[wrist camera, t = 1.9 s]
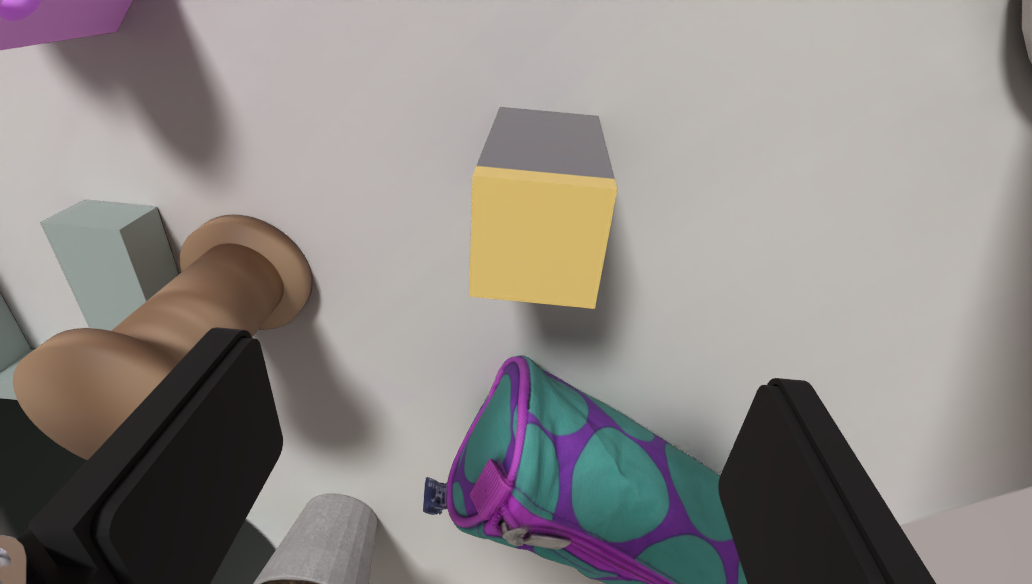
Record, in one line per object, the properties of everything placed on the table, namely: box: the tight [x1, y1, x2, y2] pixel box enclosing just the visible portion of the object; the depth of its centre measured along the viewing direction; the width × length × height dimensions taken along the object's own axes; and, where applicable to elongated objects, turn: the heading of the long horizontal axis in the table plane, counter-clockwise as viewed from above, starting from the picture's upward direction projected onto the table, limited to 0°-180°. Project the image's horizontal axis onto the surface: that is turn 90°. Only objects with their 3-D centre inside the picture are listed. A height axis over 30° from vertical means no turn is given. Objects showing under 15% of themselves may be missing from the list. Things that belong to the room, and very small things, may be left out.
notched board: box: [0, 200, 179, 400], centre depth 27 cm, size 14×12×2 cm
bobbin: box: [13, 215, 312, 460], centre depth 22 cm, size 6×6×10 cm
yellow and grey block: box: [469, 107, 617, 309], centre depth 19 cm, size 4×4×8 cm
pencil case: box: [423, 356, 747, 584], centre depth 27 cm, size 21×9×10 cm, turn 55°
